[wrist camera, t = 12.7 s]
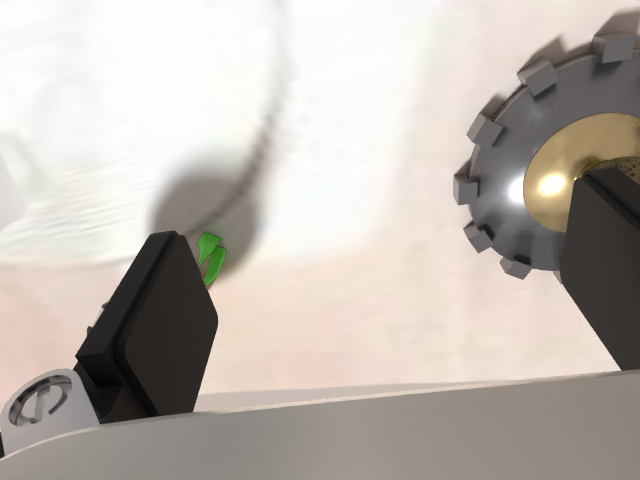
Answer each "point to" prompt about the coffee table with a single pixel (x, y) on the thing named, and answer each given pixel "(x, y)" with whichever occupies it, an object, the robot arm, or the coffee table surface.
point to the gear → (548, 151)
